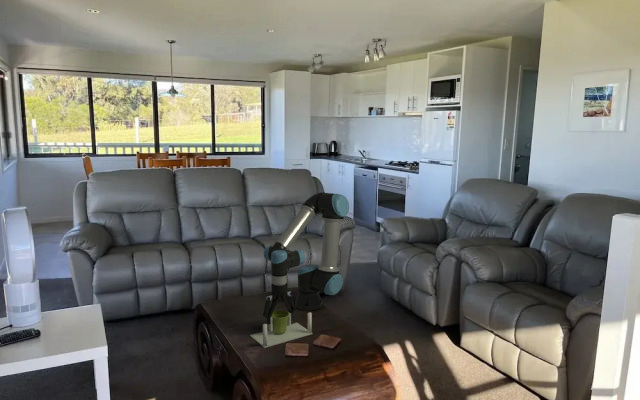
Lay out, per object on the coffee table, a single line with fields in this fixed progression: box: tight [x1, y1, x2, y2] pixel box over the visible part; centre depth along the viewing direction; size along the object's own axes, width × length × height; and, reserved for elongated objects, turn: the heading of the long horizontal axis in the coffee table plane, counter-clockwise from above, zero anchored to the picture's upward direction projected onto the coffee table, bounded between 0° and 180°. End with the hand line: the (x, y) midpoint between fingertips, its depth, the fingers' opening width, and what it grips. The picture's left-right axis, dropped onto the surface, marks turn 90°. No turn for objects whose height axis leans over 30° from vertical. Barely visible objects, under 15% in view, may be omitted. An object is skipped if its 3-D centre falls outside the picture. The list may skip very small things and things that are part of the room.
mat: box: [249, 311, 313, 349], centre depth 218 cm, size 26×15×10 cm, turn 124°
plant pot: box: [271, 309, 289, 334], centre depth 220 cm, size 9×9×9 cm
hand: (279, 327), depth 220 cm, fingers closed on plant pot, 9 cm apart
